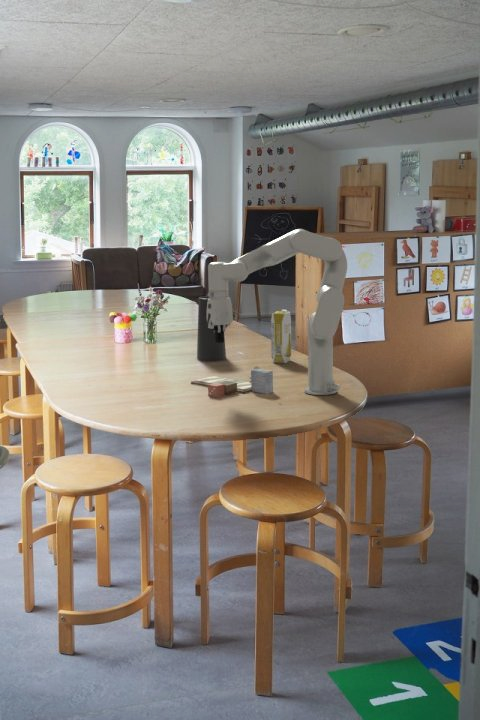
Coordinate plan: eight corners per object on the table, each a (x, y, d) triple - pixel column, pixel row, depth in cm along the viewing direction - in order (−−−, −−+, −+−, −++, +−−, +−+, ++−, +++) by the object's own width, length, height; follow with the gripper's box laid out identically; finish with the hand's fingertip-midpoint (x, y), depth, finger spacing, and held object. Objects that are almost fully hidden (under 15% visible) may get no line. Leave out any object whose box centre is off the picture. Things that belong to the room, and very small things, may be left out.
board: (265, 387, 355) (265, 384, 354) (243, 393, 345) (243, 390, 345) (212, 378, 374) (212, 375, 374) (191, 383, 364) (191, 380, 364)
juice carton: (287, 364, 400) (286, 311, 395) (270, 363, 402) (269, 310, 398) (292, 360, 409) (292, 308, 404) (276, 359, 411) (275, 308, 406)
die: (224, 384, 342) (216, 386, 339) (224, 395, 343) (216, 397, 340) (216, 382, 345) (207, 384, 342) (216, 393, 346) (208, 396, 343)
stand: (237, 392, 347) (236, 382, 346) (226, 395, 343) (226, 385, 342) (225, 390, 351) (225, 380, 350) (215, 393, 346) (215, 383, 346)
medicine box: (273, 392, 346) (273, 370, 345) (266, 394, 343) (265, 372, 341) (258, 389, 352) (258, 368, 350) (251, 391, 348) (250, 370, 347)
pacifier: (268, 383, 364) (263, 379, 370) (268, 368, 363) (263, 365, 368) (251, 384, 362) (247, 381, 368) (251, 369, 361) (246, 366, 366)
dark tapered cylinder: (231, 358, 414) (230, 297, 408) (207, 362, 406) (205, 300, 401) (215, 354, 425) (214, 294, 419) (191, 358, 418) (189, 297, 412)
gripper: (210, 297, 328) (212, 346, 332) (239, 293, 339) (240, 340, 342) (197, 295, 334) (198, 343, 337) (226, 292, 344) (227, 338, 348)
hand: (219, 342), depth 340 cm, fingers closed
